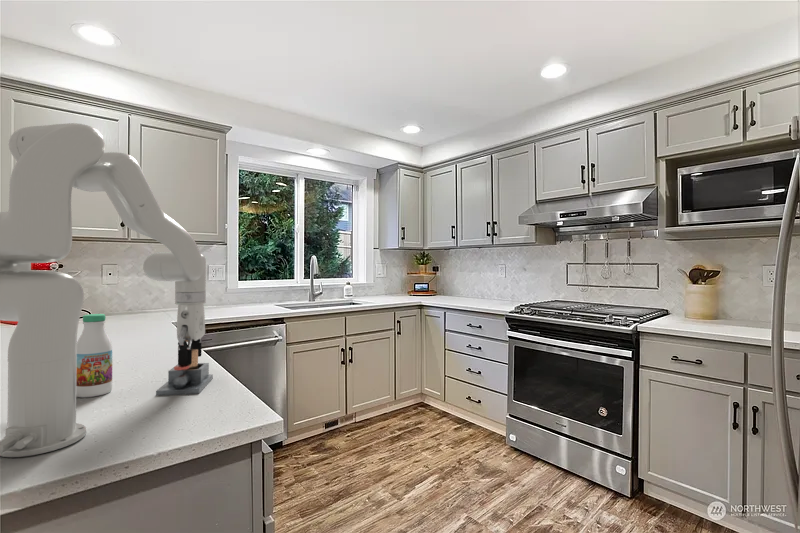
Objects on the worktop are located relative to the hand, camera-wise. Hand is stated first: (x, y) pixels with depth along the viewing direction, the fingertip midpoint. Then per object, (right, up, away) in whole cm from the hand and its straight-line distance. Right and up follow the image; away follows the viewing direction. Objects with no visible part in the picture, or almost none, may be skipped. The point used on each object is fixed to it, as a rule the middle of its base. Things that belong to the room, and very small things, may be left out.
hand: (190, 360), depth 112 cm
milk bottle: (-20, -6, -9) cm, 23 cm away
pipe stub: (0, -5, -1) cm, 5 cm away
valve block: (0, -6, -3) cm, 7 cm away
